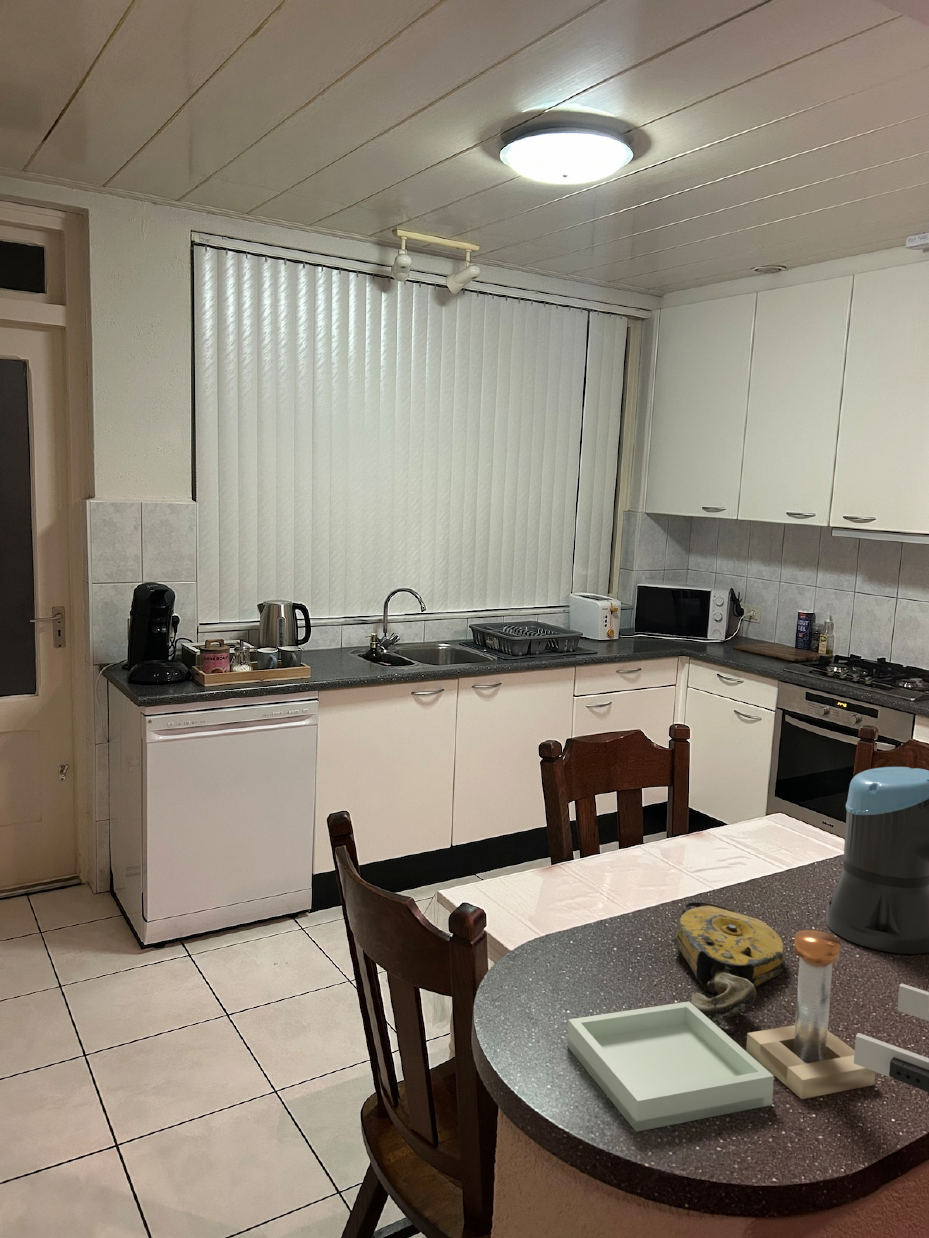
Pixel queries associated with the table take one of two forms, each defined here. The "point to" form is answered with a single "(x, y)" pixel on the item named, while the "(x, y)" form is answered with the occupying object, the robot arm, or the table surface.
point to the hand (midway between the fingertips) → (878, 1020)
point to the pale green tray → (668, 1065)
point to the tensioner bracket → (812, 1077)
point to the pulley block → (727, 957)
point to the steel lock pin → (813, 992)
